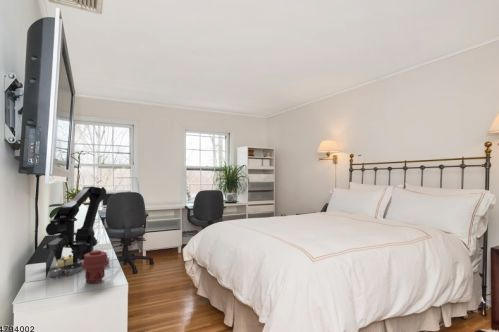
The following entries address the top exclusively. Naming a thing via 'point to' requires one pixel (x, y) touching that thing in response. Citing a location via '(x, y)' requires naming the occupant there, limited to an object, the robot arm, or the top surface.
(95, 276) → the mechanical component
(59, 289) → the top surface
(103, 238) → the top surface
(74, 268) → the studded rectangular link
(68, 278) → the top surface
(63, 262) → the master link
